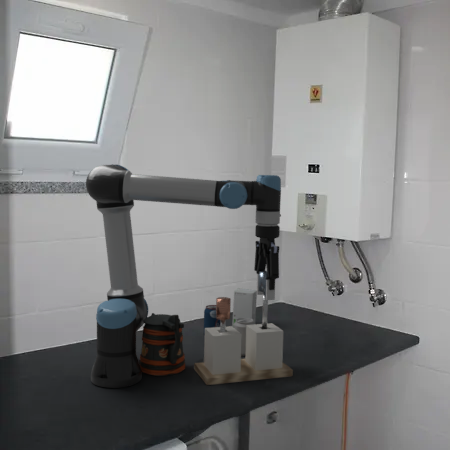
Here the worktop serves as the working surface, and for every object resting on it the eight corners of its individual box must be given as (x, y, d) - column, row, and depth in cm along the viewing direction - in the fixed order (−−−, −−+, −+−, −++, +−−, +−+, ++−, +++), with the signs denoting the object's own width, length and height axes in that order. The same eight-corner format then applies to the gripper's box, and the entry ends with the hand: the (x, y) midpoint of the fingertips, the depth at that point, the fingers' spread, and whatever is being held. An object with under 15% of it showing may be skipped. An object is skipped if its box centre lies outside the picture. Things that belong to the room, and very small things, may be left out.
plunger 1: (217, 361, 181) (218, 300, 179) (213, 356, 185) (214, 297, 183) (231, 360, 182) (232, 299, 180) (226, 355, 186) (227, 296, 184)
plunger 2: (260, 333, 185) (262, 273, 183) (255, 329, 189) (257, 271, 187) (273, 332, 186) (275, 273, 184) (268, 328, 190) (269, 270, 188)
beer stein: (201, 375, 183) (202, 312, 181) (160, 385, 175) (161, 319, 173) (170, 358, 199) (171, 300, 196) (131, 366, 190) (131, 305, 188)
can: (229, 354, 204) (230, 320, 203) (238, 348, 211) (239, 315, 209) (248, 358, 201) (249, 323, 199) (257, 352, 207) (258, 318, 206)
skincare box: (231, 329, 235) (232, 291, 233) (236, 325, 241) (237, 287, 239) (252, 331, 232) (253, 292, 230) (256, 327, 238) (257, 289, 237)
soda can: (220, 341, 219) (221, 309, 218) (202, 339, 220) (202, 308, 219) (223, 335, 226) (224, 305, 224) (205, 334, 227) (206, 303, 226)
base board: (206, 385, 175) (207, 378, 175) (194, 369, 189) (194, 363, 188) (292, 376, 184) (292, 369, 184) (274, 361, 198) (274, 355, 197)
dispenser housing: (212, 374, 178) (213, 336, 177) (204, 365, 187) (204, 328, 186) (282, 367, 186) (283, 330, 184) (270, 358, 194) (272, 323, 193)
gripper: (292, 228, 176) (289, 303, 178) (266, 221, 194) (264, 289, 197) (268, 228, 173) (266, 305, 176) (245, 221, 192) (243, 290, 194)
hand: (265, 296), depth 186 cm, fingers open, 7 cm apart
